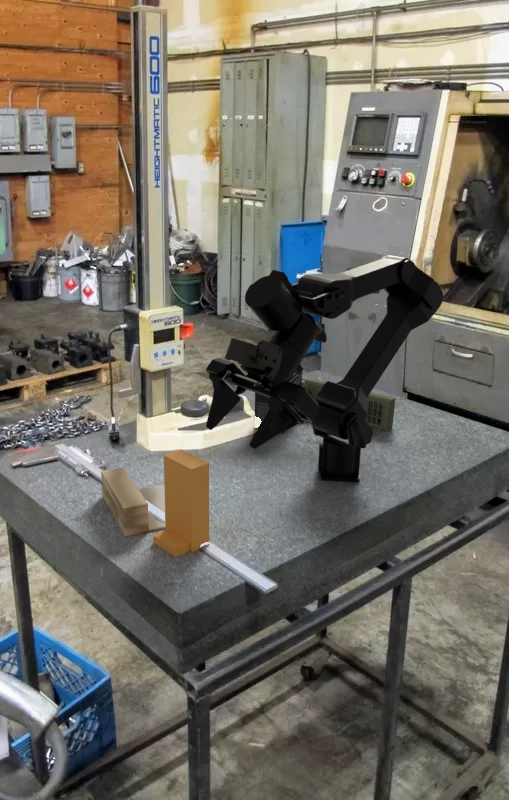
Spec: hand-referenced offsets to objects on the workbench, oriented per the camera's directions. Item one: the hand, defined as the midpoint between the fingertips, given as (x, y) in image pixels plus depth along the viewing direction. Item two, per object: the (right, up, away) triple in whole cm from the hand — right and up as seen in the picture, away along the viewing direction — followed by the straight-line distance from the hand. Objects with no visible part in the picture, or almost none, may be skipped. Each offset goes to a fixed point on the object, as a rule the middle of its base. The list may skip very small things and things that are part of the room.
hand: (229, 437), depth 108 cm
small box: (+8, +1, +43) cm, 43 cm away
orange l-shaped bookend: (-7, -15, -1) cm, 16 cm away
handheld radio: (+20, +2, +47) cm, 51 cm away
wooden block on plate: (-12, -11, +8) cm, 18 cm away
